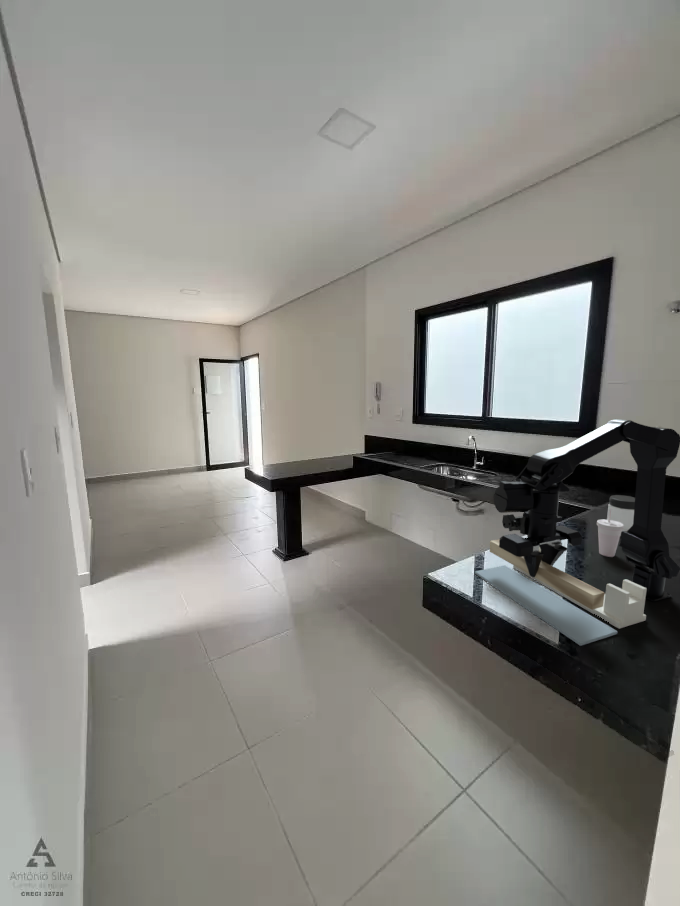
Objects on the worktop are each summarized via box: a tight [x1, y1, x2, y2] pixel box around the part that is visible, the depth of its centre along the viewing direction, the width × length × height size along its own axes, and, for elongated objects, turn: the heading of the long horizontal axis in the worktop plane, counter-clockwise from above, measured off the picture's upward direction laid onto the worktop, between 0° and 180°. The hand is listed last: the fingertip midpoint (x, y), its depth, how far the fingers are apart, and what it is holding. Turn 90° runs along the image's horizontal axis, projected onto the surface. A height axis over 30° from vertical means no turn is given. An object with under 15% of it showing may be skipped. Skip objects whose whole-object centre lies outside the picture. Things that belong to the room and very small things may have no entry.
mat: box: [474, 565, 618, 647], centre depth 85 cm, size 10×30×1 cm, turn 19°
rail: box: [489, 538, 606, 610], centre depth 84 cm, size 3×28×3 cm, turn 19°
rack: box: [512, 547, 647, 629], centre depth 88 cm, size 8×28×8 cm, turn 19°
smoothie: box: [596, 508, 624, 558], centre depth 107 cm, size 6×6×14 cm
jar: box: [606, 494, 635, 537], centre depth 123 cm, size 9×8×12 cm
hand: (537, 575), depth 84 cm, fingers closed on rail, 3 cm apart
